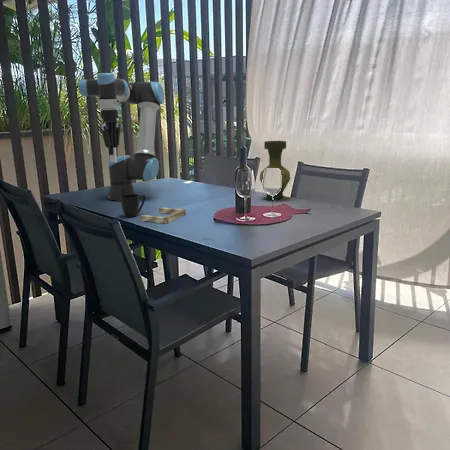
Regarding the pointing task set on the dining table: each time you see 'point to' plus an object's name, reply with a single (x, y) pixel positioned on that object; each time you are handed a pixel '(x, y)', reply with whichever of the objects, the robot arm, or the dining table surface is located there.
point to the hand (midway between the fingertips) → (113, 161)
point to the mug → (131, 204)
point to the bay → (174, 215)
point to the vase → (276, 164)
